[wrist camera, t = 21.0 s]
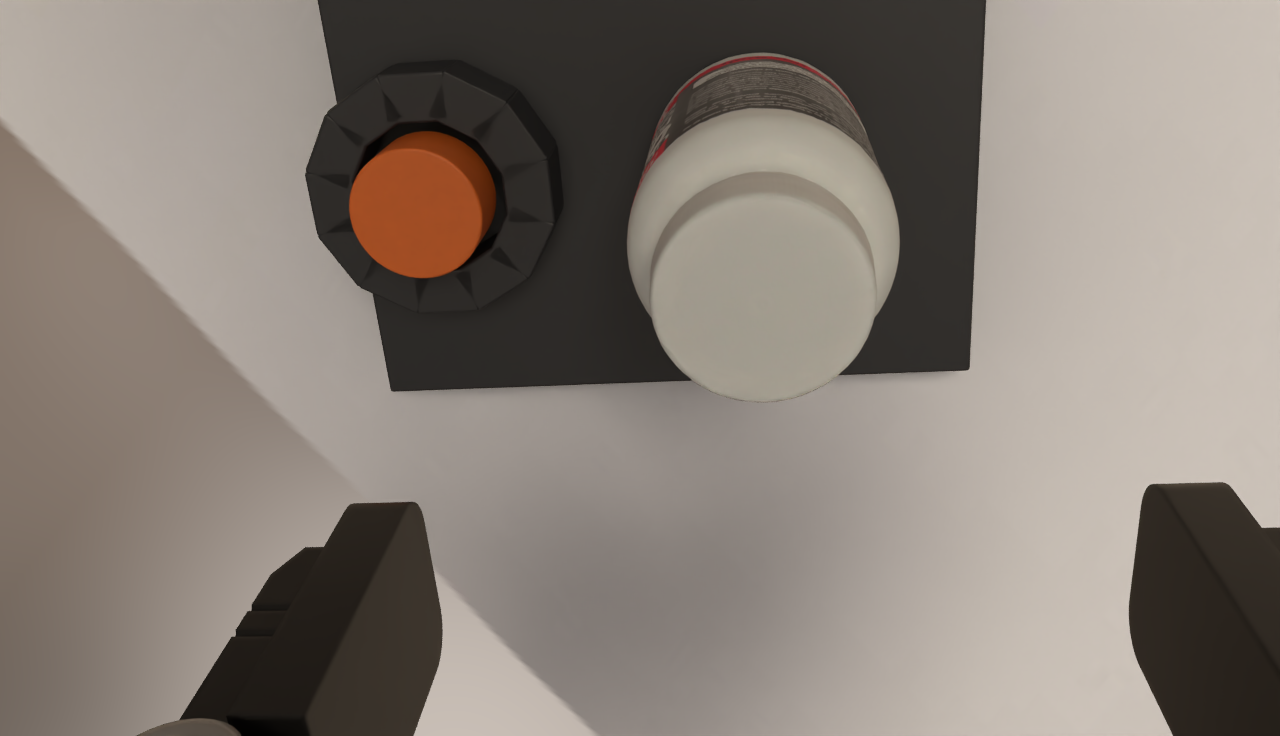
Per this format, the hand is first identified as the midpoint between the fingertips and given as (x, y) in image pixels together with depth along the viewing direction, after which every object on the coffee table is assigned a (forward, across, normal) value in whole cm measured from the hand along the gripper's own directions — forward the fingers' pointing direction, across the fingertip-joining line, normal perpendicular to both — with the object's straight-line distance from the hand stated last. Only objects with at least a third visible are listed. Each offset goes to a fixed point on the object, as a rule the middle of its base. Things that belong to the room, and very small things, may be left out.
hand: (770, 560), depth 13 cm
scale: (+19, +2, 0) cm, 19 cm away
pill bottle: (+18, 0, 0) cm, 18 cm away
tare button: (+16, +8, 0) cm, 18 cm away
